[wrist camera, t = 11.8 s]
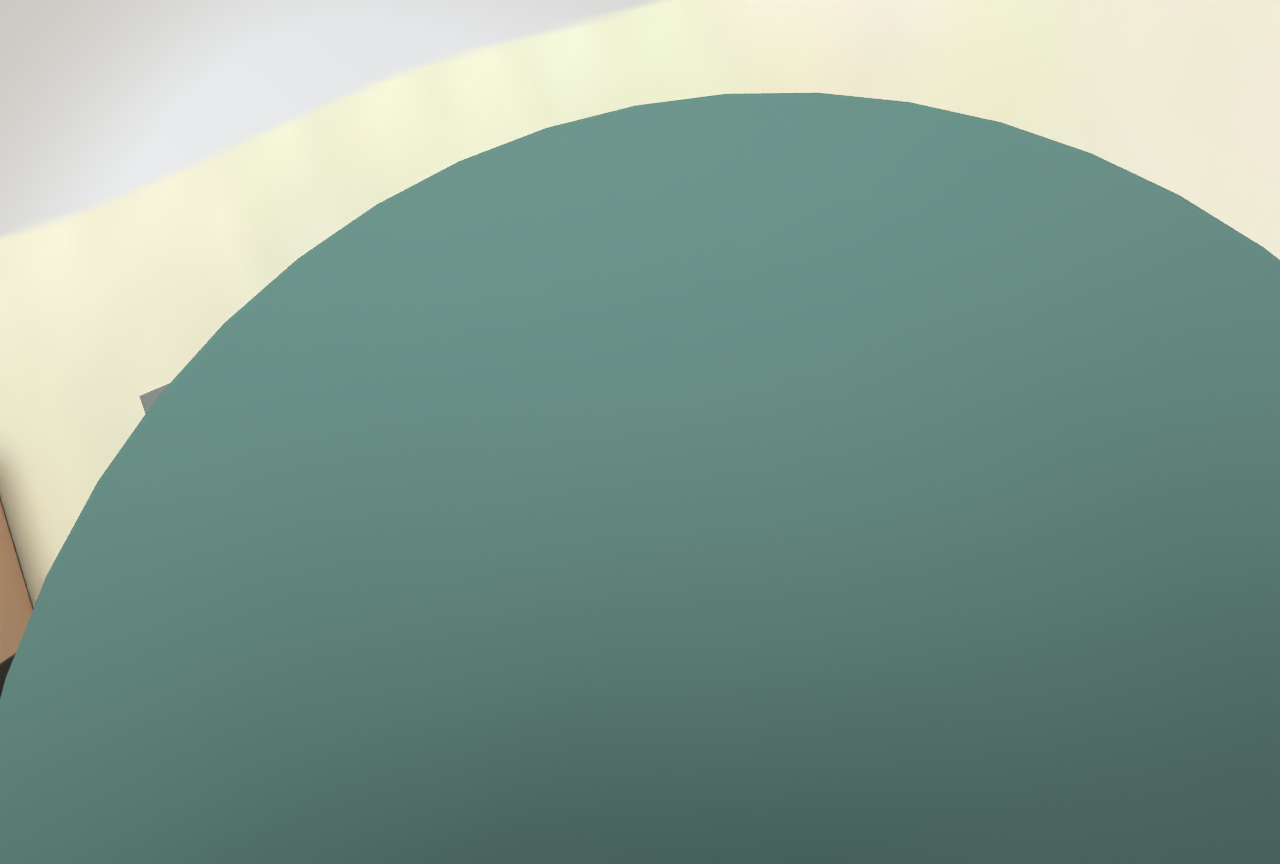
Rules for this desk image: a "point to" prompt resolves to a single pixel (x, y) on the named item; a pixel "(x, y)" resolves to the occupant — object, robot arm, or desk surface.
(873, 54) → the desk surface
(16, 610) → the pink square frame
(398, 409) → the canister
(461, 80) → the desk surface
